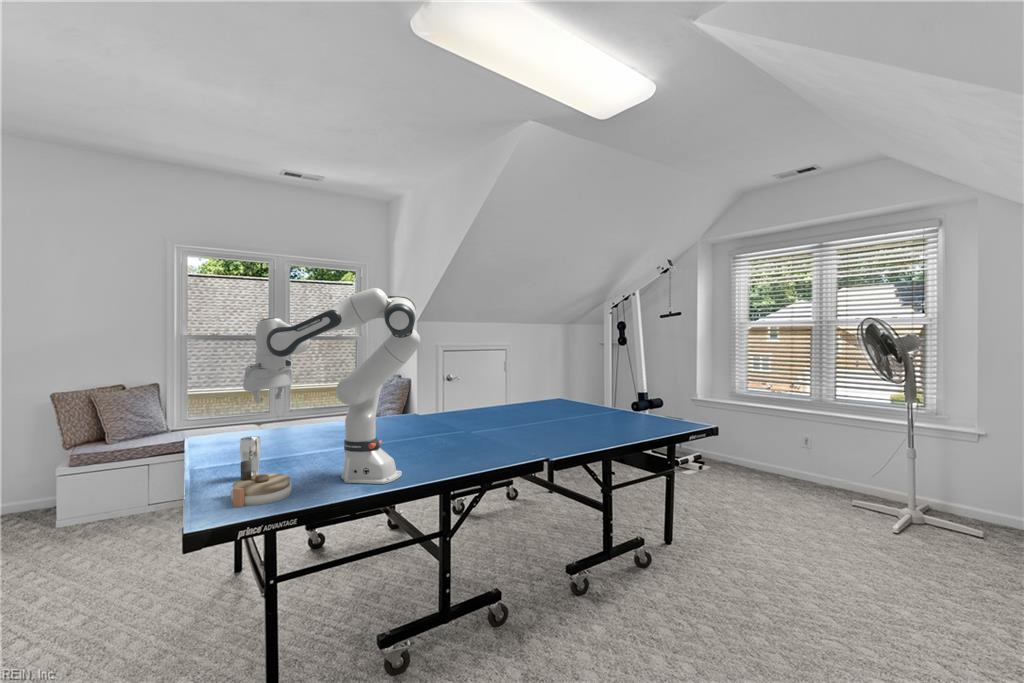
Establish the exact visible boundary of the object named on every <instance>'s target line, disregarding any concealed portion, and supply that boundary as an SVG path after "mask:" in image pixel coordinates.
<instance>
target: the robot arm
mask: <svg viewBox="0 0 1024 683" xmlns="http://www.w3.org/2000/svg"><path fill="white" fill-rule="evenodd" d="M416 317H417V308H416V305H415V303H414V301H412V300H411V299H410V298H408V297H406V296H401V295H400V296H395V295H388V296H387V294H386V292H384V290H382V289H380V288H378V287H372V288H368V289H365V290H361V291H359V292H357V293H354V294H352V295H350V296H348V297H346V298H344V299H342V300H341V301H339V302H338V303H336V304H334V305H333V306H331V307H329V308H328V309H327V310H324V311H323V312H321V313H319V314H318V315H315V316H313V317H311V318H307V319H306V320H304V321H302V322H300V323H298V324H297V323H296V324H295V325H291V324H289V323H287V322H285V321H284V320H282V319H281V318H280V317H271V318H270V317H269V318H268V317H267V318H263V319H261V320H259V321H258V322H257V323H256V328H255V340H254V341H255V345H256V351H255V361H254V362H255V363H252V364H248V365H247V367H245V371H244V376H243V384H242V387H243V390H244V391H245V392H251V393H252V395H253V398H254V402H255V404H260V403H263V397H261V396H260V394H261V391H262V390H263V391H264V390H269V389H270V390H271V389H277V392H276V394H275V395H274V399H275V400H282V399H283V393H284V391H285V387H290V386H292V384H293V382H294V372H293V370H294V369H293V364H294V363H293V360H291V359H288V358H286V357H287V356H289V355H290V356H291V355H297V354H301V353H304V352H306V351H307V349H309V347H310V345H311V339H313V338H315V337H317V336H320V335H322V334H324V333H327V332H332V331H333V332H334V331H345V330H350V329H351V330H352V329H354V328H357V327H360V326H363V325H365V324H366V323H369V322H371V321H372V320H376V319H384V322H385V325H386V327H387V329H388V330H389V331H390V333H391V334H390V336H389V337H388V338H386V340H384V341H383V343H382V344H381V345H380V346H379V347H378V348H377V349H375V351H374V352H373V353H372V354H371V355H370V356H369V357H368V358H367V359H365V360H364V361H363V362H362V363H360V364H359V365H358V366H357V367H356V368H354V369H353V370H352V371H351V372H350V373H348V374H347V375H346V376H345V377H344V378H343V379H341V380H340V381H339V382H338V383H337V385H336V387H335V395H336V397H337V400H339V402H341V403H342V404H344V405H347V406H348V405H349V408H348V411H347V414H346V416H345V420H344V421H345V422H344V427H345V428H344V430H345V434H344V436H345V438H344V440H343V442H344V443H343V446H344V447H343V449H344V450H343V451H344V461H343V467H342V471H341V475H340V477H341V479H342V480H343V482H344V483H346V484H371V485H372V484H374V485H375V484H376V485H379V484H380V485H381V484H382V485H384V484H388V483H391V482H394V481H396V480H398V479H399V478H400V477H401V476H402V473H403V472H402V471H401V470H397V467H396V463H395V460H394V458H393V457H392V456H390V454H388V453H387V452H386V451H385V450H383V448H381V445H380V444H382V443H383V442H382V441H383V439H380V440H379V439H378V438H377V437H376V432H377V428H376V427H377V426H376V422H377V411H378V406H379V401H380V395H381V392H382V389H383V384H385V383H386V382H387V381H388V380H389V379H391V378H392V377H393V376H394V375H395V374H396V373H397V372H399V370H400V369H401V368H402V367H403V366H404V365H405V364H406V363H407V362H408V360H410V359H411V357H412V356H413V355H414V354H415V352H416V351H417V349H418V348H419V346H420V345H421V336H420V335H419V333H418V331H416V329H414V327H415V322H416V319H417V318H416Z"/></svg>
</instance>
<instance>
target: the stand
mask: <svg viewBox="0 0 1024 683" xmlns="http://www.w3.org/2000/svg"><path fill="white" fill-rule="evenodd" d="M230 494H231V495H230V498H231V499H230V501H231V502H232V507H236V508H241V507H244V506H260V505H267V504H271V503H275V502H279V501H282V500H285V499H286V498H288V497H289V496H291V494H292V483H291V481H290V485H289V486H288V487H287V488H285V489H283V490H280V491H277V492H273V493H269V494H263V495H250V496H247V495H244V488H237V487H236V488H234V489H233V488H232V489H231V491H230Z"/></svg>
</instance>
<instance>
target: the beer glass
mask: <svg viewBox="0 0 1024 683" xmlns="http://www.w3.org/2000/svg"><path fill="white" fill-rule="evenodd" d="M239 440H240V442H239V456H240V463H241V462H242V461H247V460H249V461H251V476H254V475H260V468H259V465H260V459H261V453H262V449H261V448H262V446H261V437H260V436H253V435H252V436H245V437H244V436H243V437H241V438H240V439H239Z"/></svg>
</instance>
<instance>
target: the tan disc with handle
mask: <svg viewBox="0 0 1024 683" xmlns="http://www.w3.org/2000/svg"><path fill="white" fill-rule="evenodd" d="M259 474H260V473H259ZM290 478H291V476H289V475H287V474H284V473H263V474H262V473H261V474H260V475H254V476H251V461H249V460H247V461H242V462H241V461H240V479H238V480H236V481H235V482H233V484H232V489H234V488H236V487H237V488H244V495H247V496H250V495H263V494H269V493H273V492H277V491H280V490H283V489H285V488H287V487H288V486H289V485H290V482H291V479H290Z"/></svg>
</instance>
